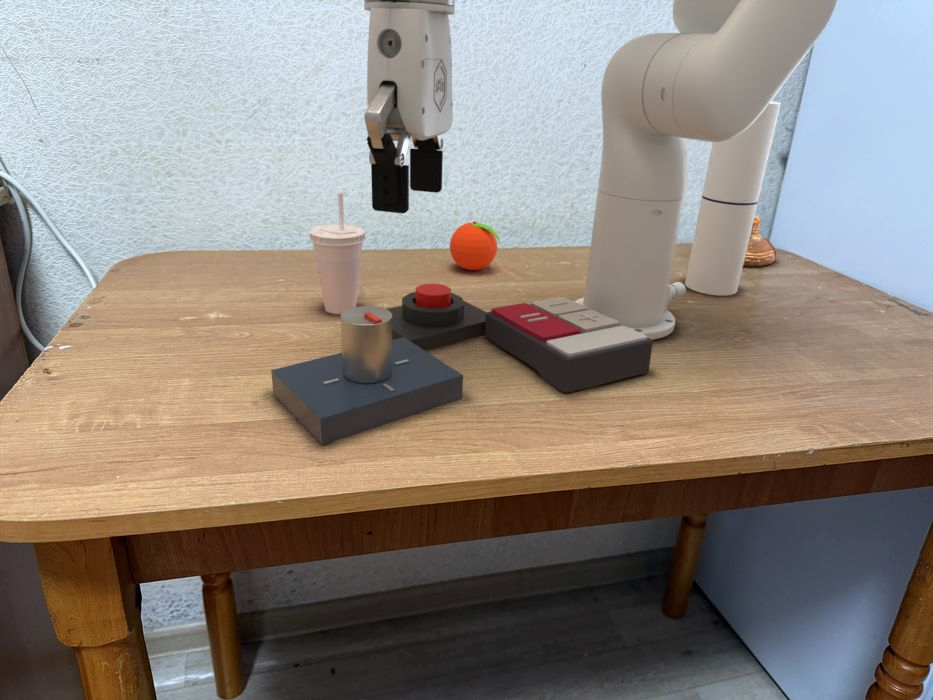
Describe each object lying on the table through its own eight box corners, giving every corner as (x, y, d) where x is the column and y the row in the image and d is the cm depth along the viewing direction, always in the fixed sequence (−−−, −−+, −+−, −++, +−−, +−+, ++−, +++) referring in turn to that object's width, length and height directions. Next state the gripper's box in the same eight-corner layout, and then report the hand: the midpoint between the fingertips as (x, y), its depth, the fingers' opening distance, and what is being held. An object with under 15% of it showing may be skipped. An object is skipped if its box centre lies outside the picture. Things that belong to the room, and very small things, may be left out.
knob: (334, 368, 58) (331, 308, 56) (376, 357, 61) (375, 299, 58) (357, 387, 55) (356, 325, 53) (401, 375, 58) (401, 315, 55)
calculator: (563, 292, 76) (656, 333, 64) (561, 327, 78) (650, 372, 66) (484, 305, 71) (568, 352, 59) (483, 342, 73) (564, 394, 61)
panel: (404, 359, 66) (404, 335, 65) (462, 399, 59) (463, 373, 58) (273, 394, 59) (270, 368, 57) (322, 445, 51) (320, 416, 50)
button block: (451, 307, 81) (452, 280, 79) (497, 331, 74) (499, 303, 73) (366, 326, 74) (366, 297, 72) (409, 355, 67) (409, 324, 66)
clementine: (510, 270, 96) (514, 222, 93) (486, 281, 90) (489, 231, 87) (465, 259, 99) (467, 213, 96) (439, 270, 94) (441, 221, 91)
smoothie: (356, 321, 75) (352, 200, 69) (304, 315, 76) (296, 195, 70) (374, 302, 81) (372, 189, 75) (326, 297, 82) (320, 185, 76)
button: (437, 295, 75) (437, 281, 74) (457, 306, 72) (458, 291, 72) (408, 301, 73) (408, 286, 72) (428, 312, 70) (428, 297, 69)
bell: (695, 244, 114) (703, 203, 111) (766, 251, 112) (777, 209, 109) (703, 263, 103) (713, 218, 100) (782, 270, 102) (794, 225, 98)
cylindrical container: (682, 290, 91) (720, 100, 80) (686, 276, 97) (722, 98, 86) (736, 298, 88) (782, 104, 78) (737, 283, 94) (779, 101, 84)
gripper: (418, -18, 45) (417, 225, 52) (479, 2, 60) (471, 187, 67) (320, -20, 46) (331, 216, 54) (403, 0, 62) (403, 181, 69)
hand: (409, 200), depth 60 cm, fingers open, 9 cm apart
